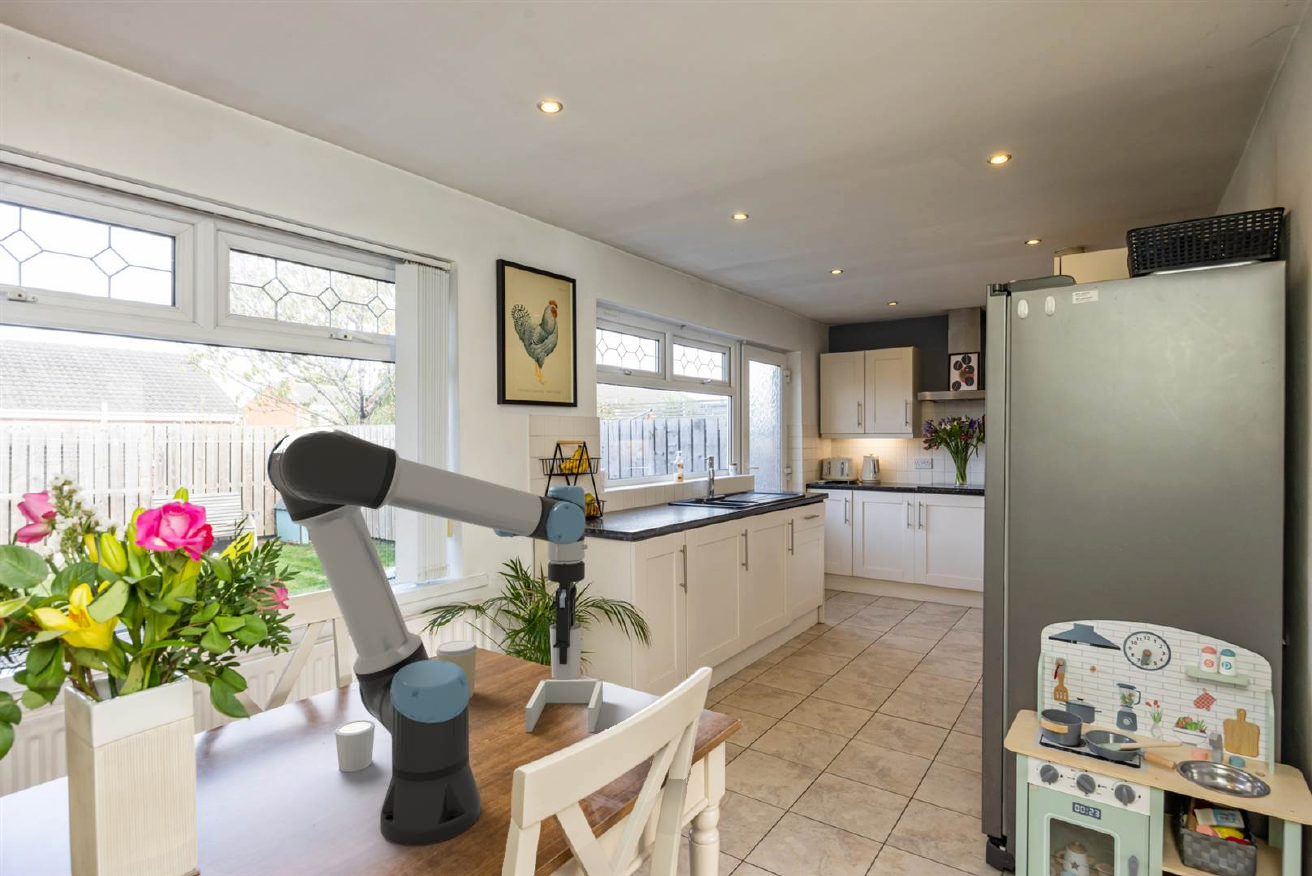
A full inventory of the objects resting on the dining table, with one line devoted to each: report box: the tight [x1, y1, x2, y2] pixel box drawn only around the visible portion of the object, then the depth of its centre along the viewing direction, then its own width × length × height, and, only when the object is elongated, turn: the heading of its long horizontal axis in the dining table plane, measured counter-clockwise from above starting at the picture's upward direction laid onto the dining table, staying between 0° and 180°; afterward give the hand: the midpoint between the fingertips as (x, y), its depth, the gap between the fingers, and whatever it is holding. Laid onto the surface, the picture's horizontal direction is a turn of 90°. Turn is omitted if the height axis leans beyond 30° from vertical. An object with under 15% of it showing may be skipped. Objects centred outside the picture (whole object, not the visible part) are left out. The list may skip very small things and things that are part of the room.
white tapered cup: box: [334, 719, 376, 773], centre depth 125 cm, size 7×7×7 cm
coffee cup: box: [435, 639, 478, 700], centre depth 159 cm, size 9×9×12 cm
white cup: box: [549, 622, 583, 680], centre depth 138 cm, size 7×7×10 cm
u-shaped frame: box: [524, 679, 604, 733], centre depth 146 cm, size 14×17×5 cm
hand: (565, 673), depth 137 cm, fingers closed on white cup, 6 cm apart
